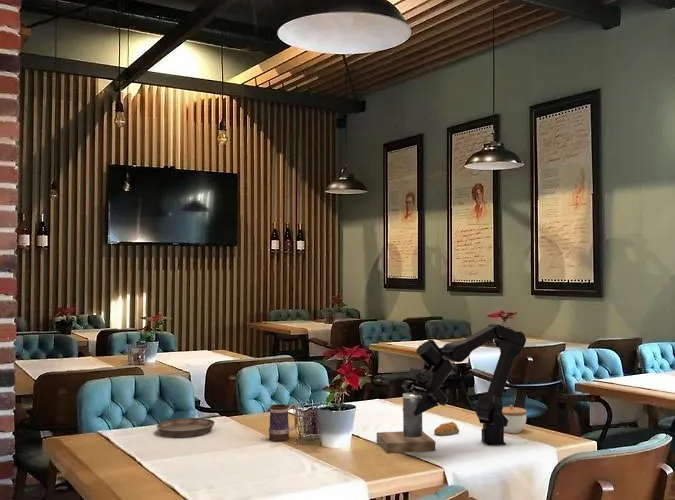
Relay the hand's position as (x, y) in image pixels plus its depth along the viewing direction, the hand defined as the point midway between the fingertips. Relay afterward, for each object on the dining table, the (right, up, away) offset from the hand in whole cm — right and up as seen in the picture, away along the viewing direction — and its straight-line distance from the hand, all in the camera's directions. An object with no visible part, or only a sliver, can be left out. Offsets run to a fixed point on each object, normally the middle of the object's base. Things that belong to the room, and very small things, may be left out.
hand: (408, 413), depth 233 cm
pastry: (+16, -14, +31) cm, 37 cm away
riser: (0, -14, +12) cm, 18 cm away
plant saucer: (-78, -15, +35) cm, 87 cm away
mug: (-41, -14, +23) cm, 49 cm away
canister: (+1, -7, 0) cm, 7 cm away
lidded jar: (+40, -14, +33) cm, 54 cm away
